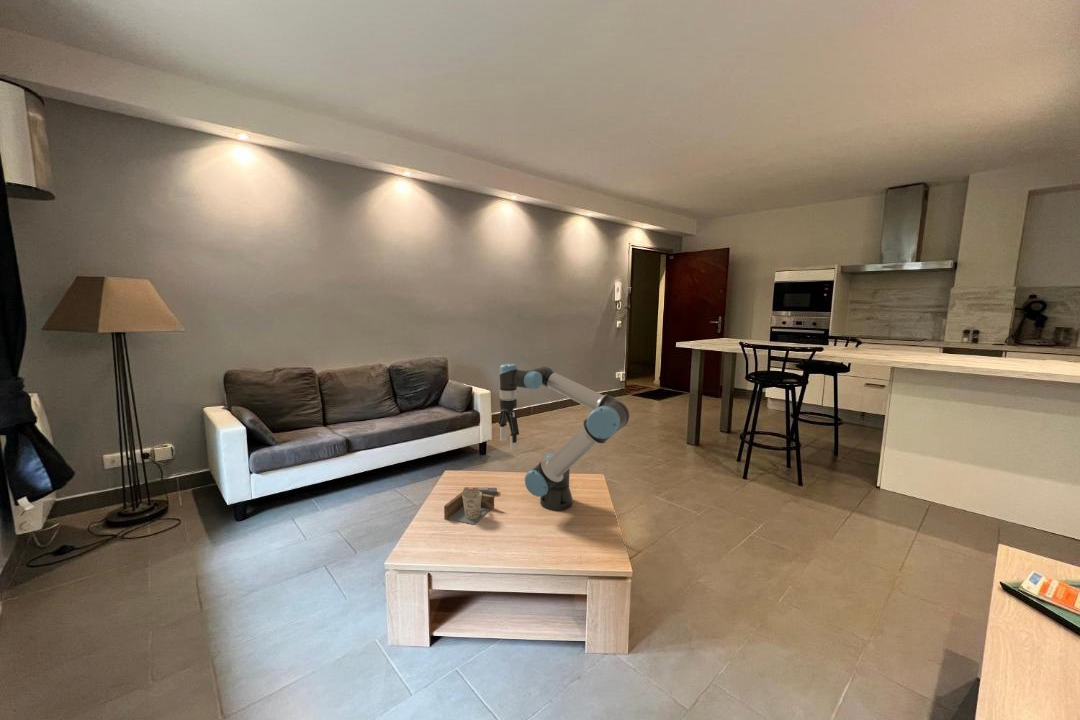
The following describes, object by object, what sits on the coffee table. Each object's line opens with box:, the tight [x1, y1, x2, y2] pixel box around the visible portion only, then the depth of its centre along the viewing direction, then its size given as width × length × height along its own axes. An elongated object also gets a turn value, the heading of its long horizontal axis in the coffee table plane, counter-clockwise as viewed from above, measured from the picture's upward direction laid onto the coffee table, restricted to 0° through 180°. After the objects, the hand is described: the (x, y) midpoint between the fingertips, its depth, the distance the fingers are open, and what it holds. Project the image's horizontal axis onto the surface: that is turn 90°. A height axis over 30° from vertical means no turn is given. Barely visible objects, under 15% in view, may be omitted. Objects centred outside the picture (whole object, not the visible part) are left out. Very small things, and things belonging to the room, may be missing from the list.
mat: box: [448, 506, 491, 526], centre depth 186 cm, size 13×14×1 cm
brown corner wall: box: [443, 490, 495, 521], centre depth 187 cm, size 16×16×6 cm
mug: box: [462, 490, 482, 519], centre depth 186 cm, size 8×13×10 cm, turn 170°
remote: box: [462, 486, 498, 496], centre depth 207 cm, size 16×4×2 cm, turn 89°
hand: (508, 444), depth 192 cm, fingers open, 13 cm apart
